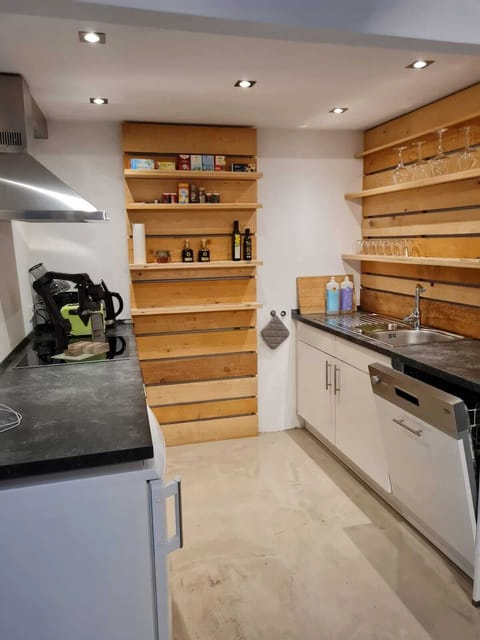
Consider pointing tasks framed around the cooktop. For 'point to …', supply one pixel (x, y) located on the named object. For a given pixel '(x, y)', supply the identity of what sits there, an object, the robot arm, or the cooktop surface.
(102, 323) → the coffee box
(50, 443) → the cooktop surface
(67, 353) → the walnut tile
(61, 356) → the sage mat
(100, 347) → the birch riser
